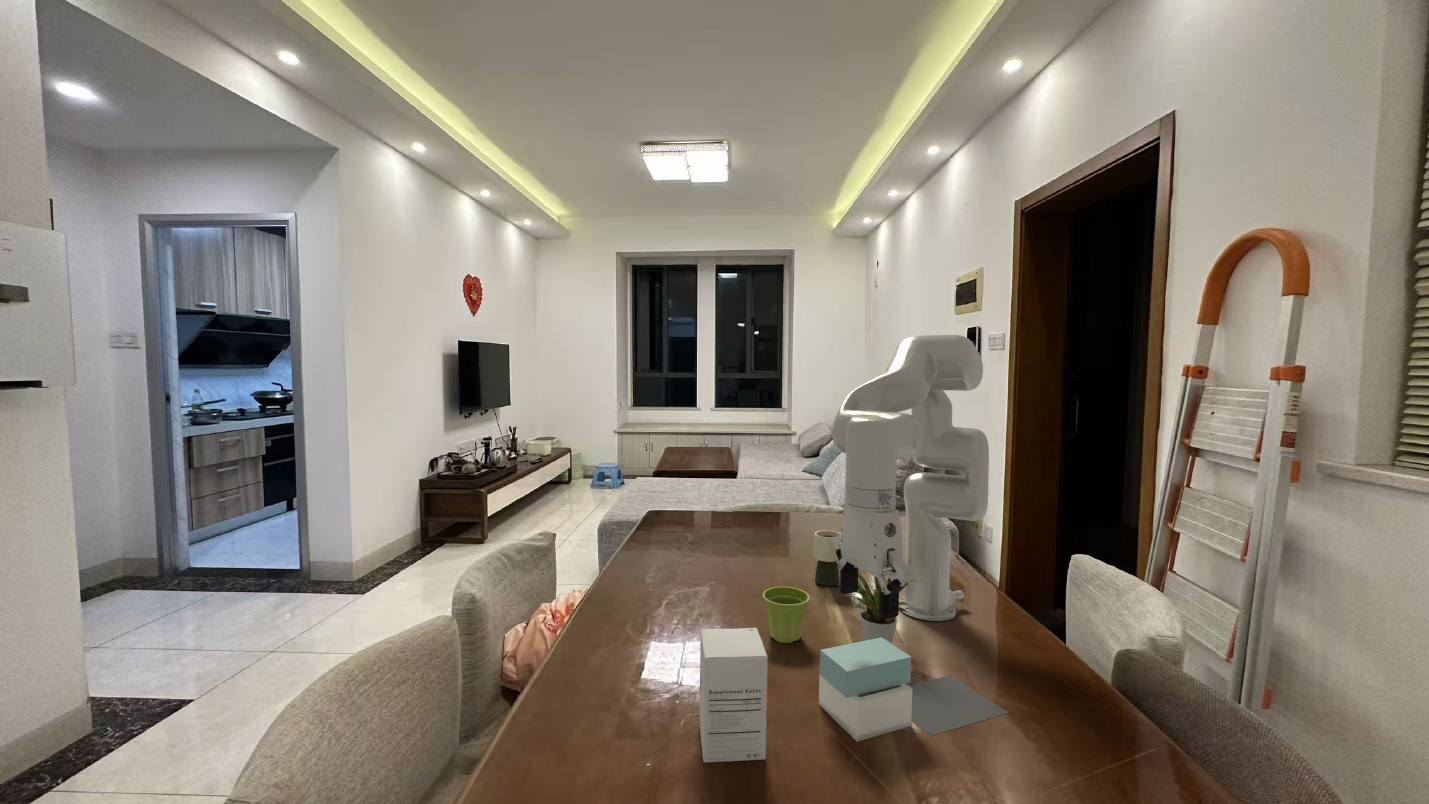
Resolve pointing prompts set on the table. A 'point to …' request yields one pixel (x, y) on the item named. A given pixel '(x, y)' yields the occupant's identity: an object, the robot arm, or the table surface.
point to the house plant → (875, 612)
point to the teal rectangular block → (865, 666)
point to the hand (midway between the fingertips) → (867, 604)
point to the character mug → (826, 558)
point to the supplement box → (733, 695)
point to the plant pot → (785, 612)
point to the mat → (949, 705)
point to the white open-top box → (868, 709)
